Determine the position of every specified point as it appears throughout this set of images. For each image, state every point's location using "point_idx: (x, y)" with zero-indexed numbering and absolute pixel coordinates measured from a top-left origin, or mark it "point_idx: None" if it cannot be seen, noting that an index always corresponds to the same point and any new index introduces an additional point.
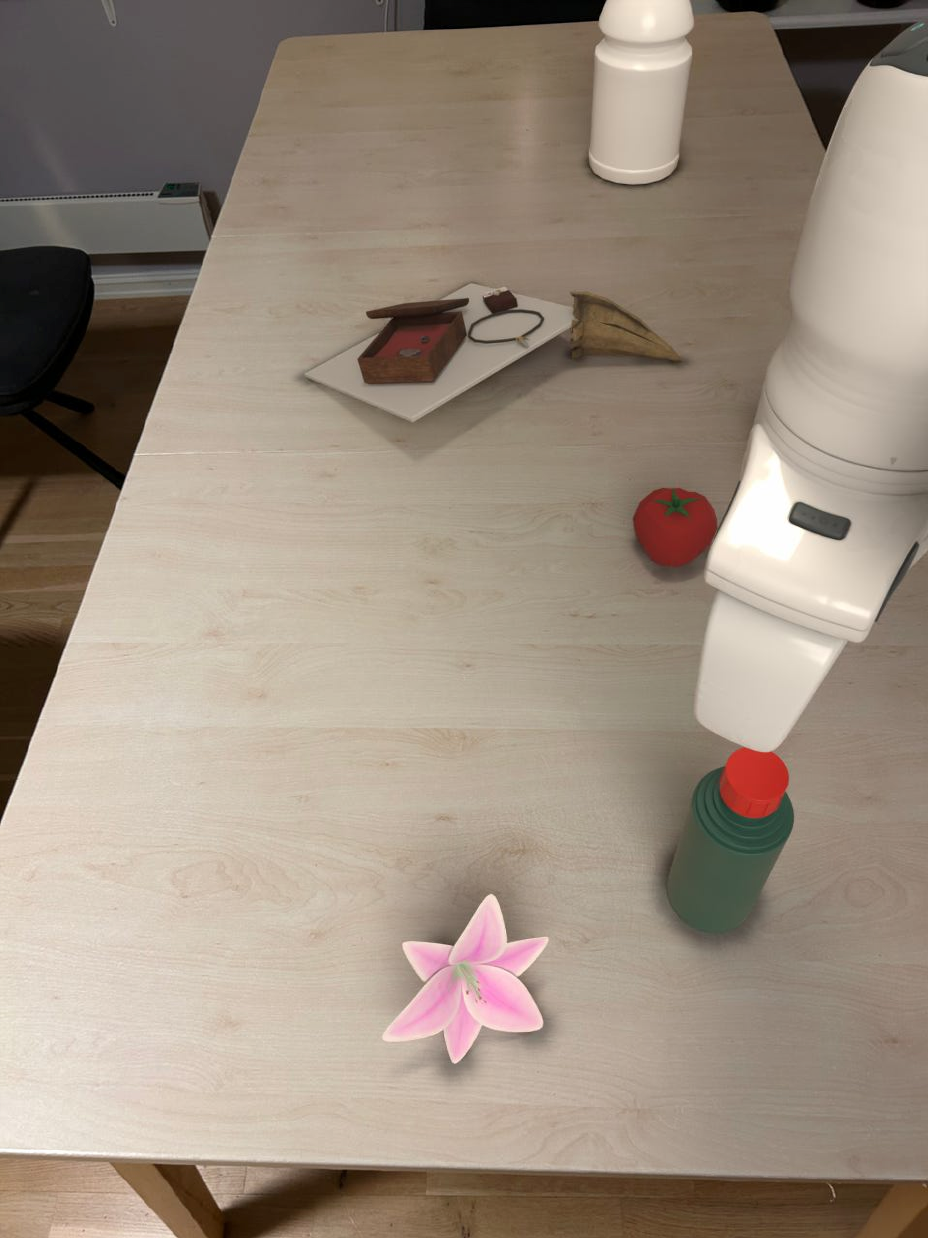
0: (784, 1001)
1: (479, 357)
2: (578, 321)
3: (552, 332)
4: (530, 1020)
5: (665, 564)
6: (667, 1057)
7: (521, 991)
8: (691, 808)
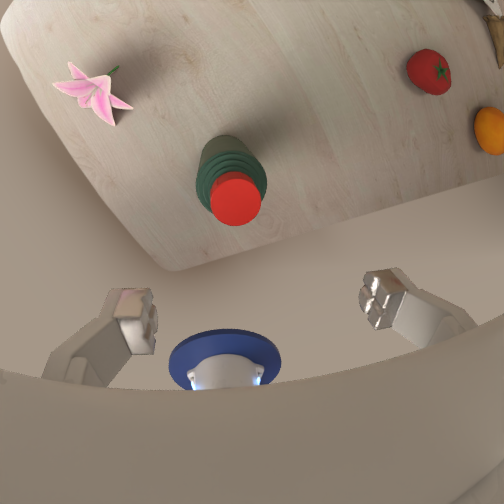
0: (193, 211)
1: None
2: (499, 18)
3: (490, 5)
4: (110, 121)
5: (407, 70)
6: (138, 179)
7: (110, 112)
8: (214, 154)
